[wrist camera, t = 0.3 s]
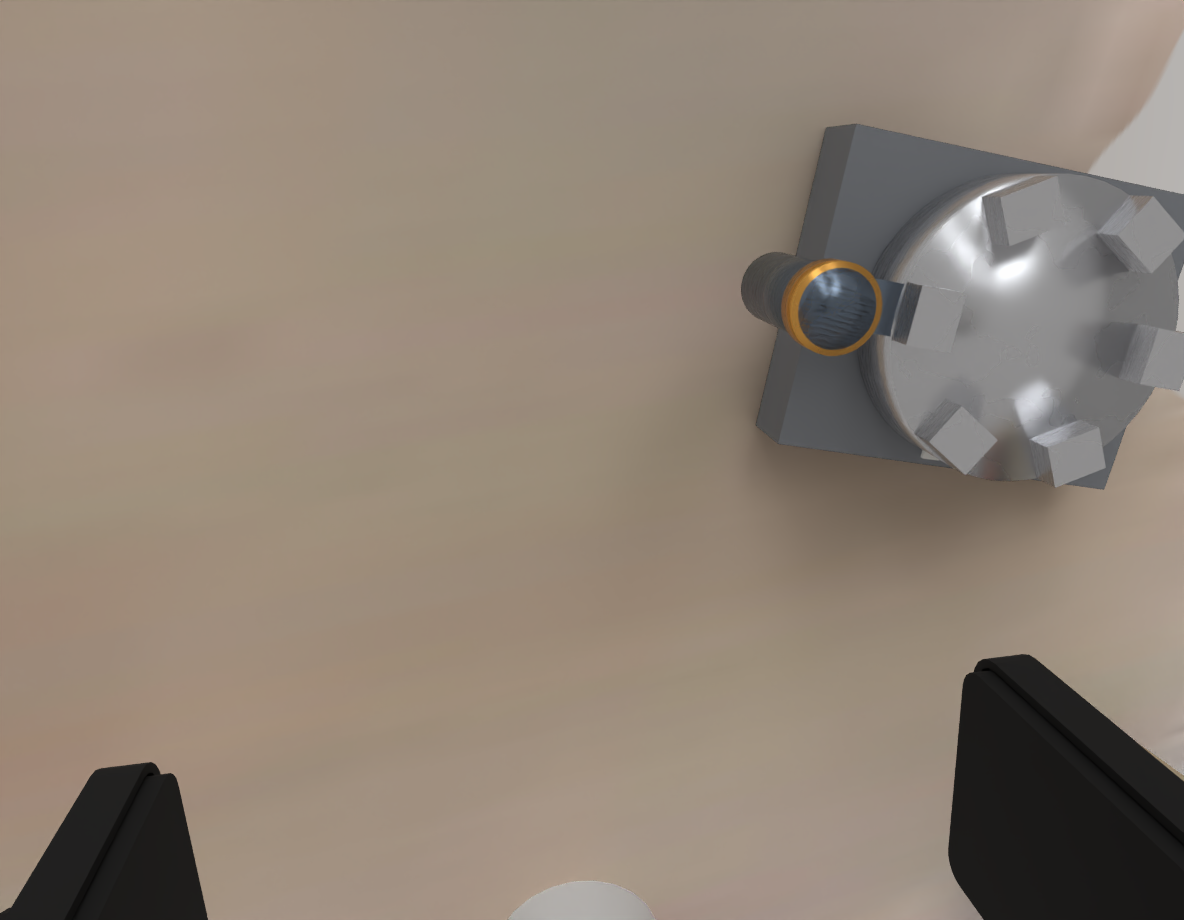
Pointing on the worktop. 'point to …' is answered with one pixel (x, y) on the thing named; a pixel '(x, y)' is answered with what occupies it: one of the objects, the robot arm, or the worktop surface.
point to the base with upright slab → (584, 903)
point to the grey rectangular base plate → (860, 235)
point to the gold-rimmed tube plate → (1000, 321)
